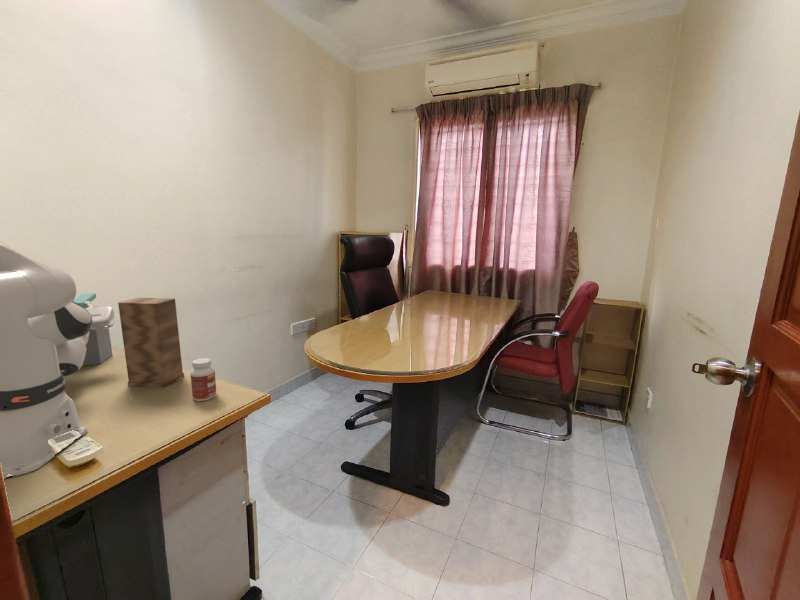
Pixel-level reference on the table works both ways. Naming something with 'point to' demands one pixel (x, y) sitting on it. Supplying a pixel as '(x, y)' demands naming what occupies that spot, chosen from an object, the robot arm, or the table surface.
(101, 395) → the table surface
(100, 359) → the riser
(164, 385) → the walnut shelf
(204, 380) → the pill bottle
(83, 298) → the lid slat
